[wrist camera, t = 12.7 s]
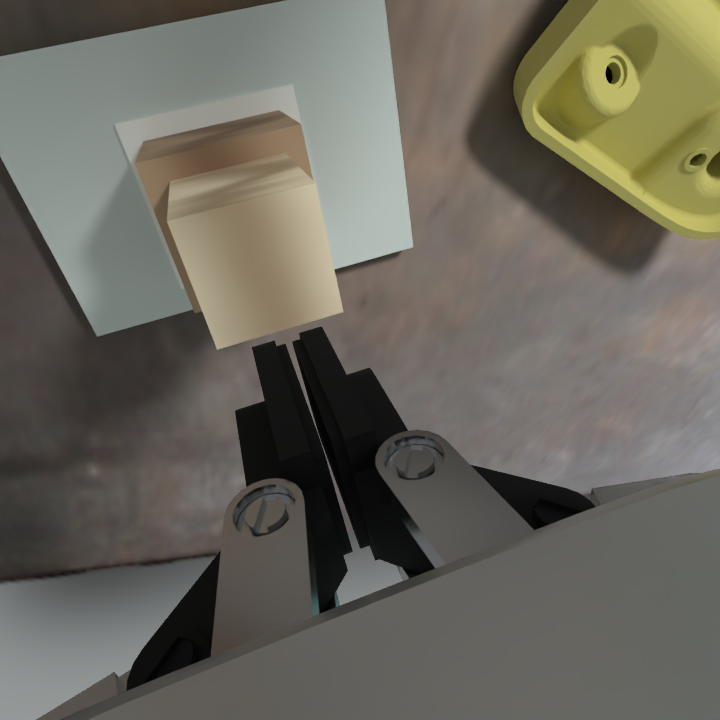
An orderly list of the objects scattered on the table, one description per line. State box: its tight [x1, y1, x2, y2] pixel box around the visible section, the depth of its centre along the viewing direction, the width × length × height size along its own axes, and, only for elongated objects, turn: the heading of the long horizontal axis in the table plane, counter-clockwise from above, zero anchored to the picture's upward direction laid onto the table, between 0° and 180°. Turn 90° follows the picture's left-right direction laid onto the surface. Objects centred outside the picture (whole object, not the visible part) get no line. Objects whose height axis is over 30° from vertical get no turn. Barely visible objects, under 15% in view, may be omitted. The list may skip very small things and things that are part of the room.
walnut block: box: [135, 110, 313, 313], centre depth 26 cm, size 7×7×6 cm
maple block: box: [167, 153, 343, 350], centre depth 21 cm, size 5×5×6 cm
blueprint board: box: [0, 0, 413, 337], centre depth 28 cm, size 20×14×1 cm
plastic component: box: [513, 0, 720, 239], centre depth 32 cm, size 20×8×10 cm
